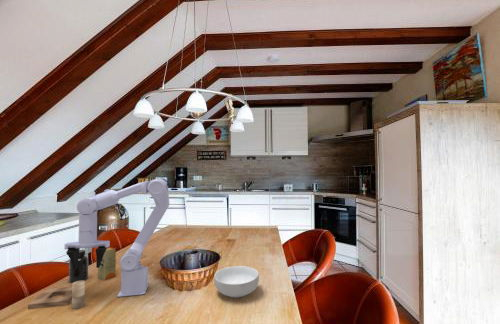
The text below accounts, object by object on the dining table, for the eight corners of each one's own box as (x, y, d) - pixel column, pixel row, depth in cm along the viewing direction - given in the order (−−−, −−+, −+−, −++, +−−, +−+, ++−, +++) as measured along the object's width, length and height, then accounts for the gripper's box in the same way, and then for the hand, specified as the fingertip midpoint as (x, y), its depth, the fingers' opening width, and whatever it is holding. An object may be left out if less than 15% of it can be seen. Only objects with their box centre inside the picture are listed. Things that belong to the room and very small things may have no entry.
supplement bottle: (84, 275, 116) (85, 248, 116) (90, 279, 111) (90, 250, 112) (66, 280, 110) (66, 251, 111) (71, 284, 106) (72, 254, 106)
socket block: (83, 289, 101) (83, 285, 101) (68, 304, 89) (68, 300, 89) (48, 292, 99) (48, 288, 99) (27, 309, 87) (27, 304, 87)
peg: (86, 303, 90) (86, 279, 91) (81, 308, 87) (82, 284, 87) (74, 304, 90) (75, 280, 90) (69, 309, 86) (70, 285, 86)
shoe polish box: (104, 280, 110) (104, 251, 110) (97, 278, 112) (98, 250, 113) (115, 276, 114) (115, 248, 114) (109, 274, 116) (109, 247, 117)
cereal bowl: (218, 283, 106) (217, 265, 106) (258, 283, 105) (258, 265, 105) (210, 304, 89) (210, 283, 89) (259, 304, 88) (258, 283, 89)
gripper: (112, 227, 102) (112, 262, 101) (71, 228, 99) (70, 265, 98) (106, 231, 95) (105, 269, 94) (61, 233, 92) (60, 272, 92)
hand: (87, 267), depth 96 cm, fingers open, 7 cm apart
